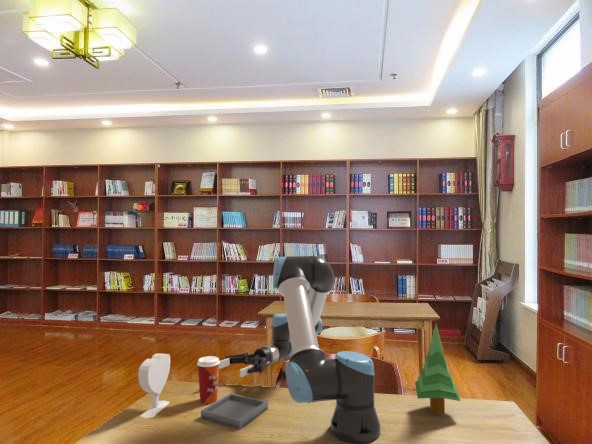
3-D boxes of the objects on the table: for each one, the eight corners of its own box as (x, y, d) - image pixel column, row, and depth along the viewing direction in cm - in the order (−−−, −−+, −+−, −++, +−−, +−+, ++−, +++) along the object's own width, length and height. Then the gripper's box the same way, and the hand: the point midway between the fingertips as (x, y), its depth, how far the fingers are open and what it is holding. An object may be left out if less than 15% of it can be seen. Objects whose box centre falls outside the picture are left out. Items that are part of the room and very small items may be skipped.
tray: (267, 408, 140) (267, 401, 140) (240, 429, 126) (240, 421, 126) (231, 399, 148) (230, 392, 148) (200, 418, 133) (200, 410, 134)
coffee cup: (214, 406, 142) (214, 363, 143) (193, 404, 144) (193, 362, 144) (223, 396, 151) (223, 356, 151) (203, 394, 152) (203, 354, 152)
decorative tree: (419, 420, 130) (418, 327, 131) (414, 400, 146) (412, 316, 146) (463, 424, 128) (462, 329, 128) (453, 402, 143) (452, 318, 144)
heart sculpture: (159, 399, 149) (159, 350, 149) (172, 399, 148) (172, 350, 148) (136, 418, 134) (136, 364, 134) (150, 419, 133) (150, 364, 133)
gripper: (288, 370, 164) (251, 387, 147) (245, 358, 179) (207, 372, 163) (288, 352, 164) (251, 366, 147) (245, 341, 179) (207, 353, 163)
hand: (227, 369), depth 155 cm, fingers open, 13 cm apart
